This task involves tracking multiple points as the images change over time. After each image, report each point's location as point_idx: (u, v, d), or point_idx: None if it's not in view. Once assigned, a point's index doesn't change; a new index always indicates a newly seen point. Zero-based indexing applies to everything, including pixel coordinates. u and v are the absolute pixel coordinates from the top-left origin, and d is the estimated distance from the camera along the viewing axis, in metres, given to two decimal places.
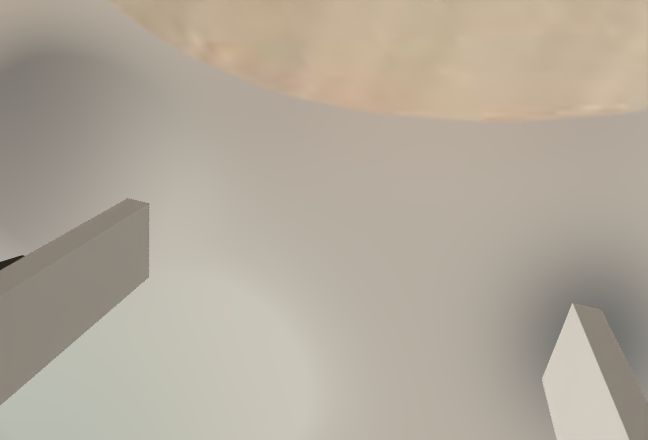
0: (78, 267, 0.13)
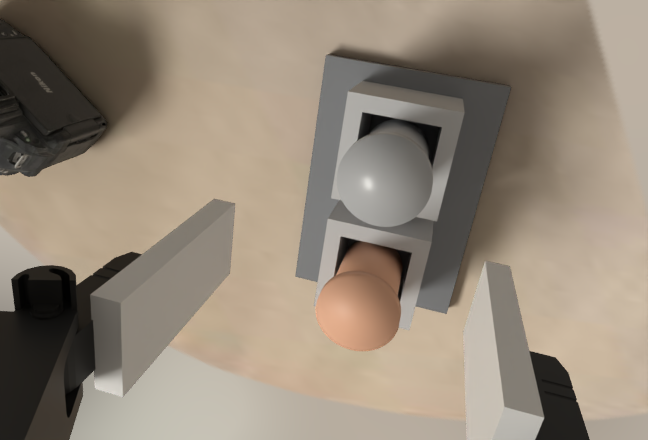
0: (186, 263, 0.14)
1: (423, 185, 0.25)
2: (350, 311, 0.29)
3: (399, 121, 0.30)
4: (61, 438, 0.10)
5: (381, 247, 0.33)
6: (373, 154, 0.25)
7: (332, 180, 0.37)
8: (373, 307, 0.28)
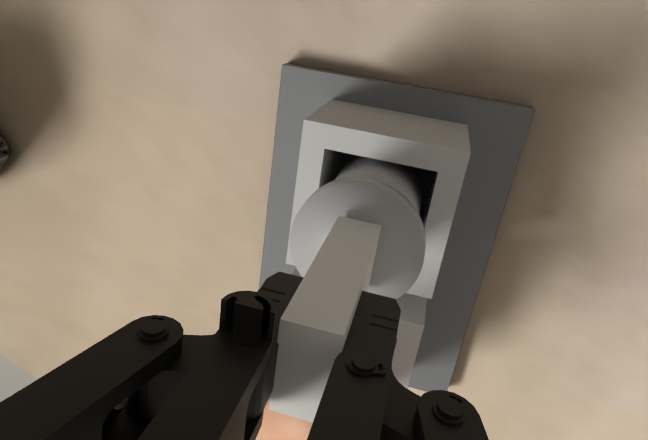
0: None
1: (411, 254, 0.17)
2: (307, 435, 0.20)
3: None
4: None
5: None
6: (340, 210, 0.17)
7: None
8: None
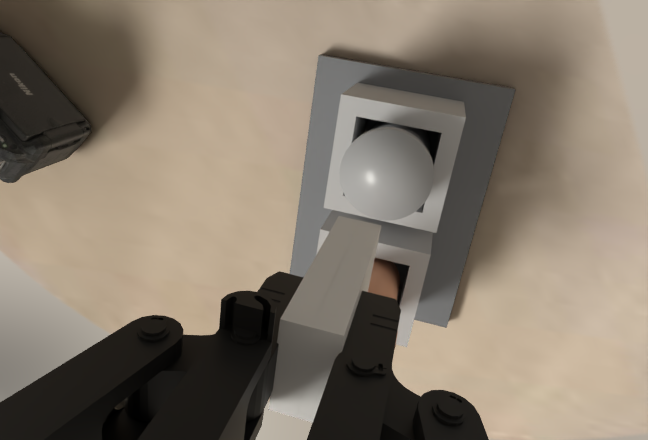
0: None
1: (424, 179, 0.26)
2: None
3: None
4: None
5: (377, 259, 0.31)
6: (375, 149, 0.26)
7: (326, 187, 0.35)
8: None
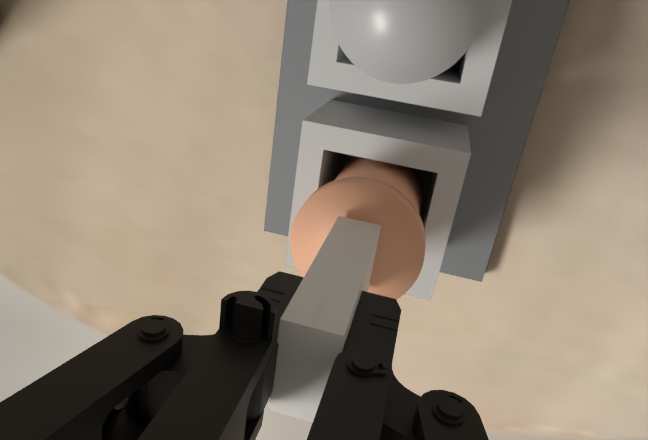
0: None
1: (470, 4, 0.15)
2: None
3: None
4: None
5: None
6: None
7: None
8: (382, 234, 0.17)
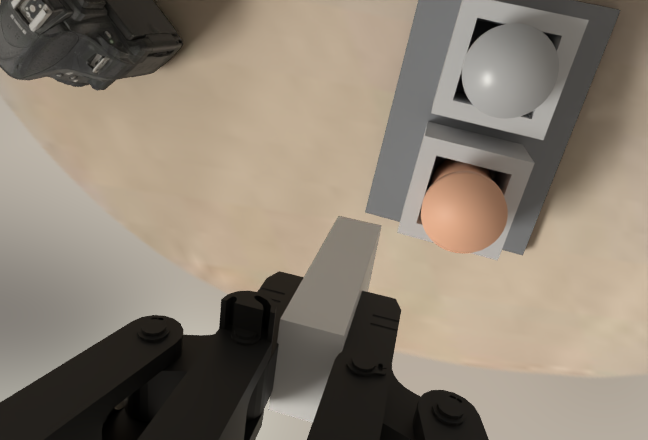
0: None
1: (549, 75, 0.26)
2: (457, 210, 0.29)
3: None
4: None
5: None
6: (503, 43, 0.26)
7: (417, 107, 0.35)
8: (481, 206, 0.29)
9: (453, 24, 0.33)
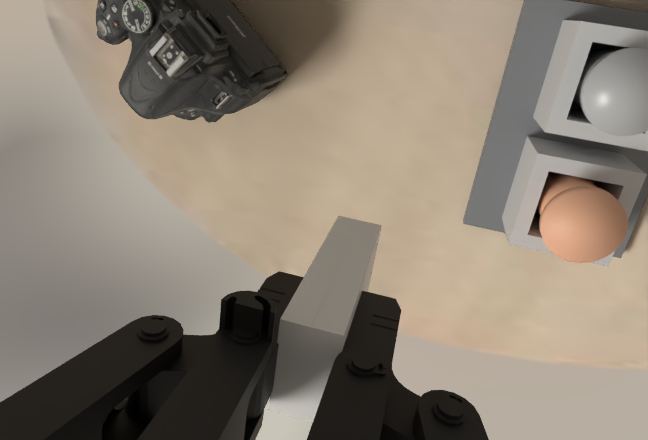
0: None
1: None
2: (577, 224, 0.31)
3: None
4: None
5: None
6: (624, 67, 0.28)
7: (516, 123, 0.37)
8: (602, 219, 0.30)
9: (553, 44, 0.35)
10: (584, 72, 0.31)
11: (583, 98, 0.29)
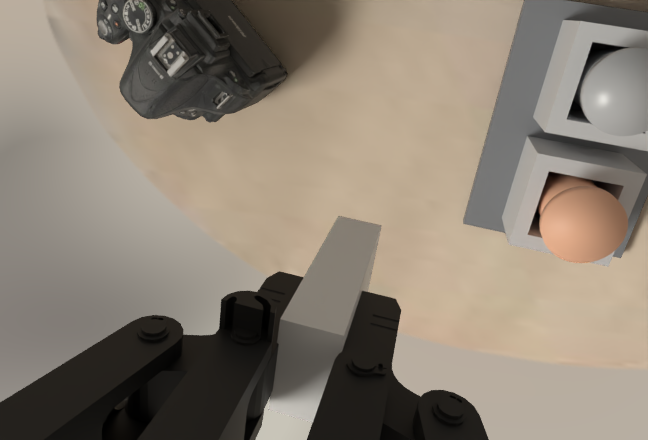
0: None
1: None
2: (577, 223, 0.31)
3: (612, 49, 0.33)
4: None
5: None
6: (624, 67, 0.28)
7: (516, 123, 0.37)
8: (602, 219, 0.30)
9: (553, 44, 0.35)
10: (584, 72, 0.31)
11: (583, 98, 0.29)
